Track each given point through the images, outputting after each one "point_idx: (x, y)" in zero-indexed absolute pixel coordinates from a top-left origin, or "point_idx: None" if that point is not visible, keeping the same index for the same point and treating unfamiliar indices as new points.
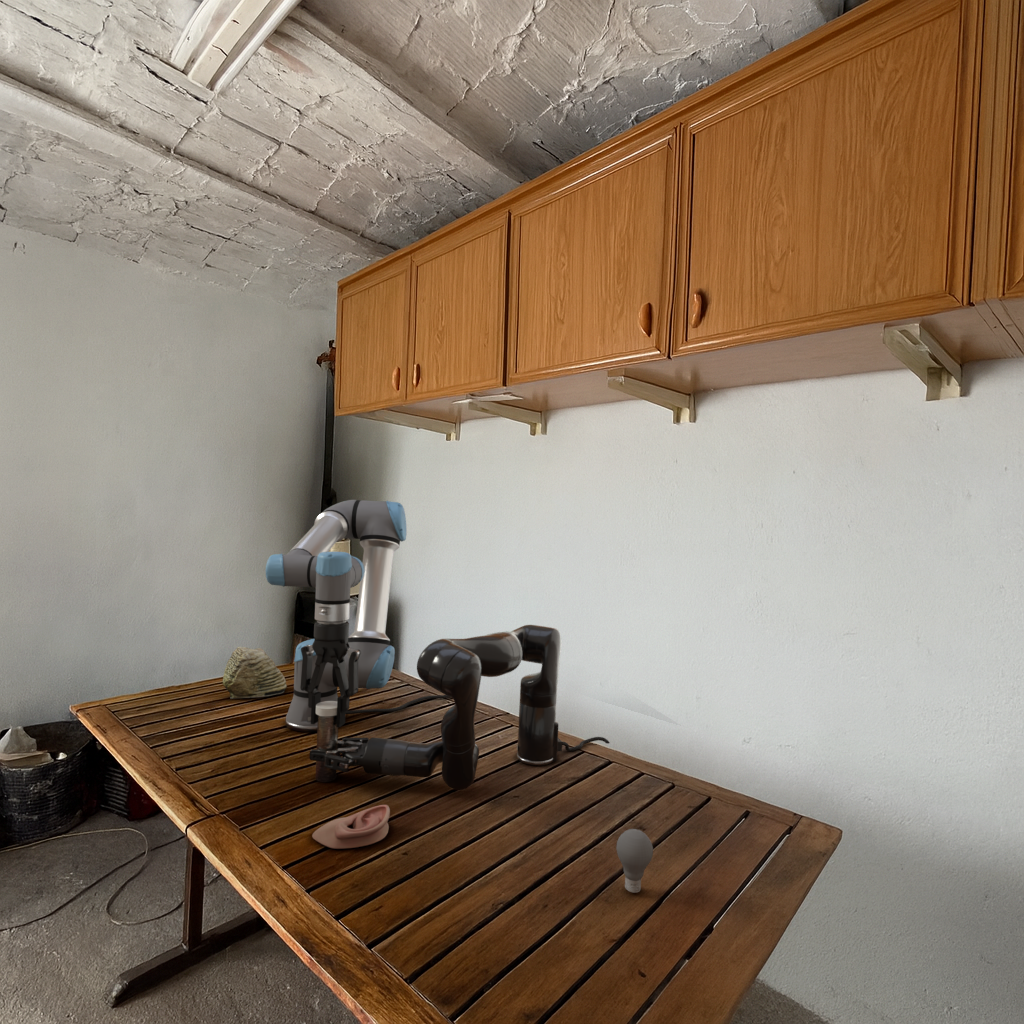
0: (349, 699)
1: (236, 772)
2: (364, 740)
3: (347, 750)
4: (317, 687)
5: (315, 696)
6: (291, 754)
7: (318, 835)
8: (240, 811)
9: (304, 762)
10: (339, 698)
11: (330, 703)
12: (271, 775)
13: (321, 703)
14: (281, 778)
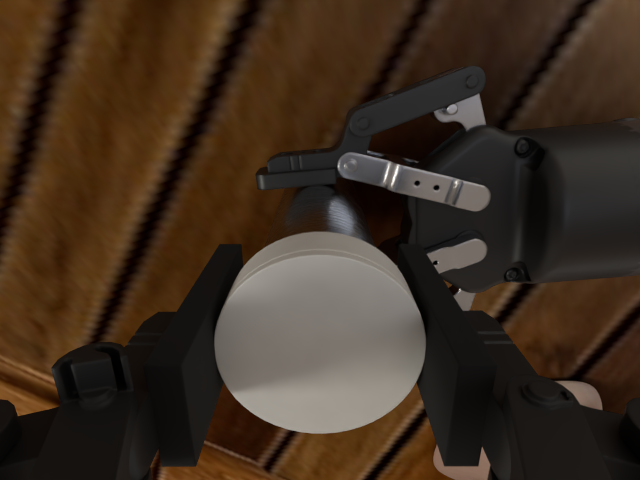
0: (532, 368)
1: (18, 240)
2: (466, 97)
3: (441, 271)
4: (131, 436)
5: (199, 446)
6: (69, 31)
7: (454, 477)
8: (212, 416)
9: (171, 92)
10: (465, 463)
11: (317, 321)
12: (138, 227)
13: (245, 345)
14: (183, 237)
